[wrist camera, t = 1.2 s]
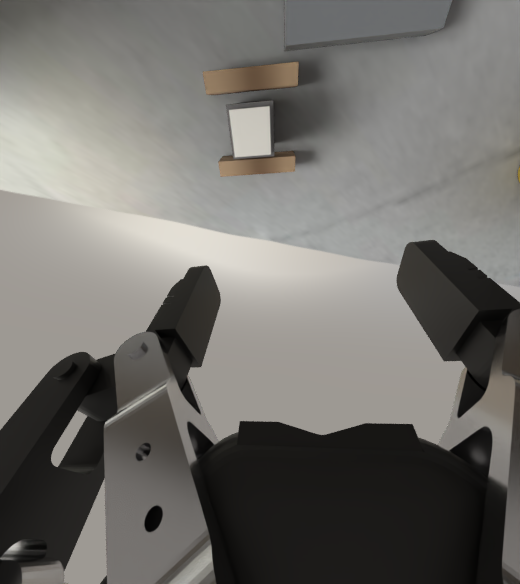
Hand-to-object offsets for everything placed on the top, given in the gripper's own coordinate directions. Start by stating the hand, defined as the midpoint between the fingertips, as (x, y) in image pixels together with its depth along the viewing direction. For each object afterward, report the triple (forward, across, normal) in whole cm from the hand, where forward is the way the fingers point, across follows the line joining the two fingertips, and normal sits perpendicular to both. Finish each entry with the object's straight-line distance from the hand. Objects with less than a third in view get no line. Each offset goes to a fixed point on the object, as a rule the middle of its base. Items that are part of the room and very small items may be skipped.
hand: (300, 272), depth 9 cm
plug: (+21, +3, -4) cm, 22 cm away
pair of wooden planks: (+21, +3, -4) cm, 22 cm away
